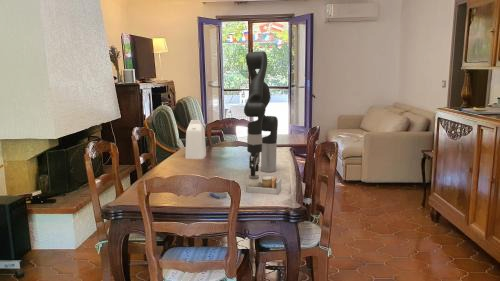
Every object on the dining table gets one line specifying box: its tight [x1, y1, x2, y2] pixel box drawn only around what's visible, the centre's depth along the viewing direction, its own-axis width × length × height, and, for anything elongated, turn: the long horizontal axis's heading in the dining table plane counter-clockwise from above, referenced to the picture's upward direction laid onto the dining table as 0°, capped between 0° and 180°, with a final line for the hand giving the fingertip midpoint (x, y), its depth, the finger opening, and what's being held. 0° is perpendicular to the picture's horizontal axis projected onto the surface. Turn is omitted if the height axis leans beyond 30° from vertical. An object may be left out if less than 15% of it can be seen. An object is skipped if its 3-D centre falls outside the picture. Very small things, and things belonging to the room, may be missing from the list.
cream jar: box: [248, 174, 260, 188], centre depth 203 cm, size 5×5×7 cm
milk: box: [184, 119, 207, 160], centre depth 276 cm, size 12×12×26 cm
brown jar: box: [261, 175, 273, 188], centre depth 201 cm, size 5×5×7 cm
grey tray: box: [246, 176, 282, 195], centre depth 202 cm, size 11×16×6 cm
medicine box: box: [209, 192, 227, 200], centre depth 191 cm, size 8×4×9 cm, turn 45°
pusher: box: [272, 176, 278, 189], centre depth 201 cm, size 8×1×6 cm, turn 167°
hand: (254, 173), depth 202 cm, fingers open, 8 cm apart
